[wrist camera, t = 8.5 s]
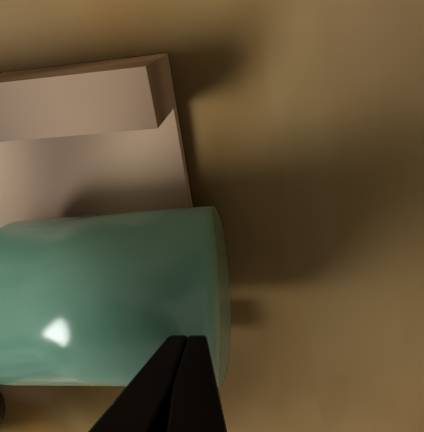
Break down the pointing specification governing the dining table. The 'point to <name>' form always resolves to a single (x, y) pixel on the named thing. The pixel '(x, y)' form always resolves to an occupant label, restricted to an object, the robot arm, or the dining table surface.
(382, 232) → the dining table surface
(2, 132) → the shallow wooden tray
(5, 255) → the bottle
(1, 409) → the french press
